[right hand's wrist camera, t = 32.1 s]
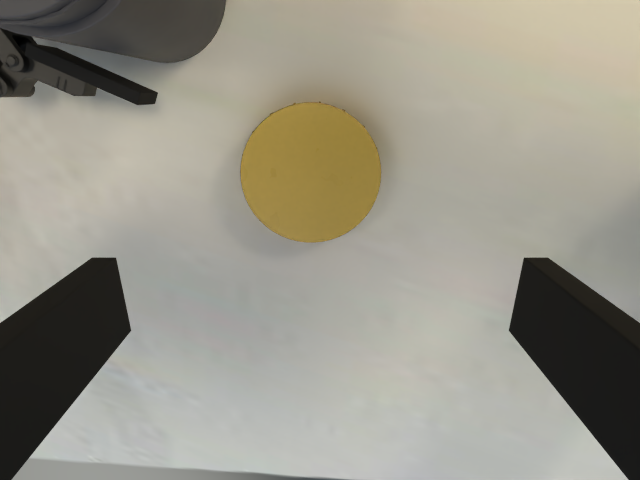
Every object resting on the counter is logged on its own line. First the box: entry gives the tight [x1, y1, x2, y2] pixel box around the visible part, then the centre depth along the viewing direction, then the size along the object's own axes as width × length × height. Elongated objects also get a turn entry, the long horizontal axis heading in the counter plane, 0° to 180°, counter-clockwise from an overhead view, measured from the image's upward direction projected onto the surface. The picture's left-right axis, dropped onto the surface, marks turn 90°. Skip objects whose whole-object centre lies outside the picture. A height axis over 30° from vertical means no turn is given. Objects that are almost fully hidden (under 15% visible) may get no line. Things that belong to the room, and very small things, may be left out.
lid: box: [240, 102, 381, 242], centre depth 31 cm, size 11×11×2 cm
